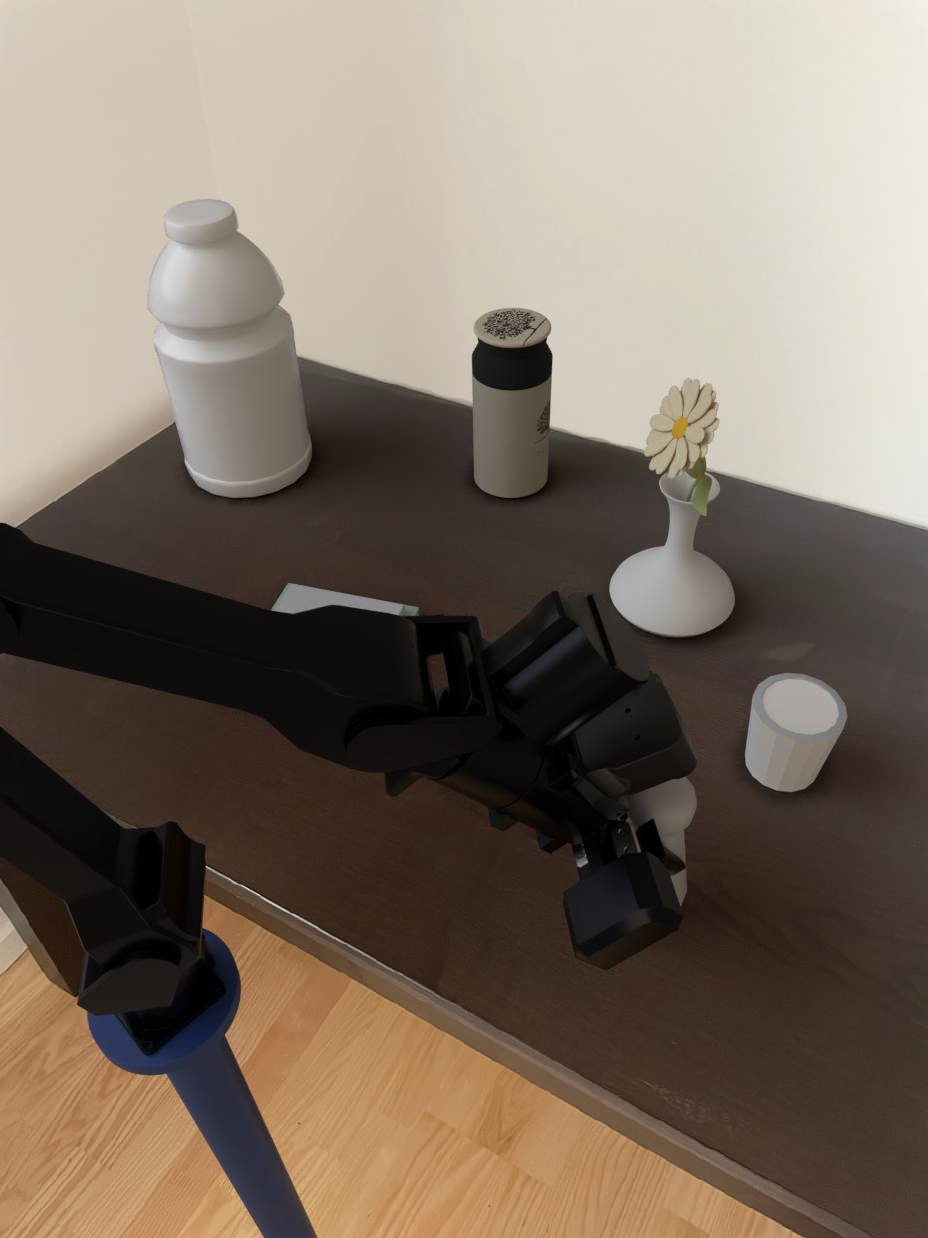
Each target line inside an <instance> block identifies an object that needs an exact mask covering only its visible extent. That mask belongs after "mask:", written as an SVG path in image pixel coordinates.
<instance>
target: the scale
mask: <svg viewBox="0 0 928 1238" xmlns="http://www.w3.org/2000/svg"><path fill="white" fill-rule="evenodd" d="M327 605H341V606H347V607H353V608H360V609H366V610H373V611H379V612H385V613H391V614H395V615H399V616H421V615H420V607H419V606H414V605H409V604H403V603H399V602H393V601H387V600H381V599H377V598H372V597H366V596H360V595H355V594H349V593H344V592H339V591H334V590H329V589H323V588H318V587H313V586H307V585H303V584H298V583H291V582H288V583H287V584H286V585H285V587H284V589H283V591H282V592H281V593H280V595H279V597H278V598H277V600H276V601H275V603H274V605H273V606H272V608H271V609H270V610H272V611H278V612H285V613H291V614H293V613H298V612H302V611H306V610H310V609H314V608H318V607H323V606H327Z"/></svg>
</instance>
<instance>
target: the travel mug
mask: <svg viewBox="0 0 928 1238" xmlns="http://www.w3.org/2000/svg"><path fill="white" fill-rule="evenodd" d="M551 332H552V324H551V321H550V320H549V319H548V318H547V317H546V316H545V315H544V314H542V313H540V312H539V311H535V310H532V309H528V308H522V307H504V308H498V309H494V310H490V311H488V312H485V313H484V314H482V315H480V316H479V317H478V318H477V319H476V320H475V322H474V324H473V333H474V334H475V336H476V337H477V344H476V346H474V347H475V348H474V349H473V351H472V354H471V387H472V390H471V391H472V394H471V395H472V396H471V397H472V430H473V431H472V439H473V440H472V441H473V442H472V443H473V480H474V482H475V484H476V485H477V486H478V488H479V489H480V490H481V491H483V492H485V493H487V494H489V495H491V496H494V497H499V498H506V499H514V498H515V499H518V498H522V497H523V498H524V497H527V496H530V495H533V494H535V493H537V492H538V491H540V490H541V489H542V488H543V487H544V486H545V485H546V483H547V481H548V471H549V450H550V427H551V407H552V406H551V402H552V383H553V382H552V379H553V359H554V357H553V356H554V355H553V351H552V350H551V348H550V346H549V344H548V342H547V341H548V338H549V336H550V334H551Z"/></svg>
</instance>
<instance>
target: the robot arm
mask: <svg viewBox="0 0 928 1238" xmlns="http://www.w3.org/2000/svg"><path fill="white" fill-rule="evenodd" d="M2 654H5V655H8V656H13V657H17V658H22V659H26V660H30V661H34V662H37V663H42V664H46V665H51V666H55V667H59V668H64V669H67V670H71V671H76V672H80V673H83V674H89V675H93V676H96V677H101V678H106V679H110V680H113V681H117V682H121V683H126V684H130V685H135V686H139V687H143V688H147V689H152V690H155V691H160V692H164V693H169V694H173V695H176V696H180V697H185V698H190V699H192V700H197V701H202V702H206V703H210V704H214V705H219V706H223V707H227V708H231V709H234V710H239V711H242V712H246V713H249V714H251V715H254V716H256V717H259V718H262V719H263V720H264V721H266V722H267V723H268V724H269V725H270V726H272V727H273V728H275V730H276V731H278V733H280V734H281V735H282V736H283V737H284V738H285V739H287V740H288V741H289V742H290V743H291V744H292V745H293V746H295V747H296V749H298V750H299V751H301V752H304V753H307V754H309V755H312V756H315V757H318V758H321V759H324V760H326V761H328V762H332V763H334V764H337V765H339V766H342V767H345V768H347V769H350V770H354V771H357V772H360V773H361V772H362V773H370V774H383V777H384V785H385V793H386V795H387V796H388V797H392V798H394V797H398V796H399V795H400V794H402V793H403V792H404V791H406V790H407V789H408V788H409V787H411V786H412V785H413V784H415V783H416V782H417V781H419V780H420V779H424V778H425V779H427V780H430V781H431V782H434V783H435V784H438V785H440V786H442V787H444V788H446V789H449V790H450V791H453V792H455V793H457V794H459V795H461V796H463V797H465V798H467V799H469V800H471V801H474V802H475V803H477V804H480V805H482V806H484V807H486V808H487V812H488V817H489V823H490V827H492V828H494V829H495V830H498V831H500V832H502V833H504V832H505V831H507V830H509V829H510V828H511V827H513V826H514V825H516V824H517V823H519V824H521V825H523V826H526V827H528V828H529V829H530V828H531V829H533V830H534V831H535V834H536V838H537V839H536V840H537V844H538V847H539V850H541V851H544V852H546V853H548V854H550V855H551V854H553V853H555V852H556V851H558V850H559V849H561V848H562V847H564V846H565V845H567V844H569V845H571V848H572V852H573V857H574V861H575V864H576V869H577V870H576V871H577V874H578V877H579V881H578V882H576V883H575V884H573V885H571V886H570V887H568V888H567V889H565V890H564V891H563V897H562V907H563V912H564V916H565V920H566V924H567V928H568V932H569V936H570V941H571V945H572V949H573V954H574V957H575V959H577V960H580V961H581V962H584V963H585V964H588V965H591V966H593V967H595V968H598V969H601V970H604V971H608V970H611V969H612V968H614V967H615V966H617V965H619V964H621V963H622V962H624V961H626V960H628V959H630V958H632V957H634V956H635V955H636V954H638V953H640V952H642V951H644V950H645V949H647V948H649V947H651V946H652V945H655V944H656V943H658V942H659V941H661V940H663V939H664V938H667V937H668V936H671V934H673V933H675V932H677V931H679V929H680V926H681V924H682V921H683V919H684V916H685V915H684V913H683V910H682V905H681V906H680V903H679V900H678V897H677V894H676V891H675V888H674V885H673V882H672V879H671V876H673V875H676V874H677V873H679V872H681V871H682V870H684V869H685V868H686V869H687V865H686V866H685V863H684V862H683V861H682V860H681V859H680V858H679V857H678V856H677V855H675V854H674V853H673V852H671V851H670V850H668V849H667V848H665V847H664V846H663V844H662V841H661V838H660V835H659V832H658V829H657V826H656V823H655V820H654V819H651V820H649V821H648V822H646V823H645V824H643V825H642V826H640V827H638V828H637V829H636V828H634V827H633V826H632V824H630V823H629V822H627V821H626V820H627V818H628V815H627V813H626V812H628V811H630V807H629V803H628V800H627V797H626V796H625V794H626V795H633V794H636V793H639V792H642V791H644V790H647V789H649V788H652V787H655V786H657V785H660V784H662V783H665V782H667V781H670V780H673V779H681V778H683V777H686V778H687V777H688V776H690V775H691V774H692V773H693V772H694V771H695V769H696V767H697V764H698V759H697V755H696V753H695V750H694V748H693V745H692V742H691V739H690V738H689V735H688V733H687V730H686V728H685V727H686V726H684V722H683V720H682V717H681V715H680V713H679V711H678V709H677V708H676V706H675V703H674V702H673V700H672V698H671V695H670V694H669V692H668V689H667V688H666V686H665V685H664V682H663V680H662V677H661V675H660V674H658V673H653V671H652V670H651V667H650V663H649V658H648V656H647V653H646V652H645V649H644V648H643V645H642V643H641V642H640V640H639V638H638V637H637V636H636V634H635V632H634V631H633V630H632V628H631V627H630V625H629V624H628V622H626V619H625V618H623V616H622V615H621V614H620V612H619V611H618V610H617V609H615V608H614V607H613V606H612V605H611V604H610V603H609V602H608V601H606V600H605V599H604V598H603V597H602V596H600V595H599V594H597V593H596V592H594V591H592V592H590V593H589V592H586V591H584V590H575V591H573V592H571V593H570V594H569V595H568V596H566V595H565V594H564V593H562V592H560V591H559V590H552V591H550V592H549V593H547V595H545V596H544V597H543V598H541V599H540V600H539V601H538V602H537V603H536V604H534V606H533V607H532V608H531V610H529V612H528V614H526V615H525V616H524V617H523V618H522V619H521V620H519V621H518V622H517V623H516V624H515V625H514V626H512V627H511V628H509V630H507V631H506V632H505V633H503V635H501V636H500V637H499V638H497V639H496V640H495V641H494V642H491V641H490V640H488V639H486V638H485V637H484V633H483V629H482V624H481V620H480V618H479V616H477V615H445V613H440V614H432V615H420V616H399V615H395V614H391V613H385V612H379V611H373V610H366V609H360V608H353V607H347V606H341V605H327V606H323V607H318V608H314V609H310V610H306V611H302V612H298V613H293V614H291V613H285V612H278V611H272V610H271V609H266V608H263V607H259V606H256V605H253V604H249V603H246V602H242V601H239V600H235V599H232V598H229V597H225V596H221V595H218V594H215V593H211V592H207V591H205V590H202V589H201V590H200V589H197V588H194V587H190V586H187V585H183V584H180V583H177V582H173V581H170V580H167V579H162V578H159V577H155V576H152V575H148V574H144V573H141V572H138V571H134V570H131V569H127V568H124V567H120V566H117V565H113V564H111V563H107V562H103V561H100V560H97V559H93V558H89V557H86V556H83V555H80V554H76V553H73V552H70V551H69V552H68V551H65V550H62V549H58V548H56V547H51V546H47V545H45V544H41V543H37V542H34V540H33V539H32V538H31V537H30V536H29V535H27V534H26V533H25V532H24V531H23V530H22V529H19V528H17V527H15V526H13V525H10V524H9V523H6V522H0V655H2ZM438 654H439V655H440V654H442V656H443V662H444V667H445V673H446V677H447V685H444V686H441V687H440V688H438V690H436V691H435V687H434V681H433V675H432V668H431V661H430V657H431V656H436V655H438ZM206 847H207V845H206V844H204V843H201V842H200V841H199V842H198V841H196V840H194V839H193V838H191V837H189V836H188V835H187V834H186V833H185V832H184V831H183V829H182V828H181V826H180V825H179V824H178V823H177V822H176V821H172V820H170V821H167V822H165V823H162V824H160V825H159V826H151V827H150V826H149V827H131V828H126V827H124V826H122V825H120V824H119V823H118V822H117V821H116V820H114V819H113V818H112V817H111V816H110V815H108V814H107V813H106V812H105V811H103V810H102V809H101V808H100V807H99V806H98V805H96V804H95V803H94V802H93V801H92V800H90V799H89V798H87V796H86V795H84V794H83V793H82V792H80V791H79V790H78V789H77V788H75V787H74V786H73V785H72V784H71V783H70V782H69V781H67V780H66V779H65V778H63V776H61V775H60V774H59V773H57V772H56V771H55V770H54V769H53V768H52V767H51V766H49V765H48V764H47V763H45V761H43V760H42V759H40V758H39V757H38V756H37V755H36V754H35V753H33V752H32V751H31V750H29V748H27V747H26V746H25V745H24V744H22V743H21V742H20V740H18V739H16V738H15V737H14V736H13V735H12V734H10V732H8V731H7V730H6V729H5V728H3V727H2V726H1V725H0V858H2V859H3V860H4V861H6V862H7V863H9V864H11V865H12V866H14V867H15V868H16V869H18V870H19V871H21V872H22V873H24V874H25V875H26V876H28V877H29V878H30V879H32V880H33V881H35V882H36V883H38V884H39V885H40V886H42V887H44V888H45V889H46V890H48V891H49V892H51V893H52V894H54V895H55V896H56V897H58V898H59V899H61V900H62V902H64V904H65V906H66V908H67V912H68V914H69V917H70V919H71V921H72V924H73V926H74V929H75V932H76V934H77V936H78V940H79V941H80V944H81V947H82V949H83V950H84V956H83V961H82V962H83V963H82V969H81V976H80V982H79V989H78V995H77V1001H76V1005H77V1006H78V1007H80V1008H81V1009H83V1010H85V1011H86V1012H87V1011H88V1012H90V1013H91V1014H93V1015H95V1016H103V1015H110V1014H114V1015H115V1017H116V1018H117V1019H118V1021H119V1022H120V1023H121V1025H122V1026H123V1028H124V1029H125V1030H126V1032H127V1033H128V1034H129V1036H130V1037H131V1038H132V1040H133V1041H134V1043H135V1044H136V1045H137V1047H138V1048H139V1049H140V1051H141V1052H142V1053H143V1054H144V1055H146V1056H149V1055H152V1054H153V1053H155V1052H156V1051H157V1050H158V1049H159V1048H161V1047H162V1046H163V1045H164V1044H165V1043H167V1042H168V1041H169V1040H170V1039H172V1038H173V1037H174V1036H175V1035H176V1034H178V1033H179V1032H180V1031H181V1030H182V1029H184V1028H185V1027H186V1026H187V1025H188V1024H190V1023H191V1022H192V1021H193V1020H195V1019H196V1018H197V1017H198V1016H199V1015H201V1014H202V1013H203V1012H204V1011H205V1010H207V1009H208V1008H209V1007H210V1006H211V1005H213V1004H214V1003H215V1002H216V1001H218V1000H219V999H220V998H221V997H222V996H223V995H224V994H225V992H226V987H225V985H224V983H223V982H222V981H221V980H220V978H219V977H218V976H217V975H216V974H215V972H214V971H213V970H212V968H214V967H215V964H216V961H215V958H214V956H213V954H212V951H211V949H210V947H209V944H208V942H207V939H206V937H205V935H204V934H203V933H202V928H203V925H204V924H203V923H204V908H205V907H204V906H205V893H206V892H205V890H206V889H205V888H206V874H207V873H206V872H207V861H206V851H207V850H206V849H207V848H206ZM217 988H221V990H220V991H219V992H215V990H216V989H217ZM149 1044H151V1045H152V1046H151V1048H150V1049H148V1050H146V1049H145V1048H146V1046H147V1045H149Z"/></svg>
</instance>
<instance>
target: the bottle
mask: <svg viewBox="0 0 928 1238" xmlns="http://www.w3.org/2000/svg"><path fill="white" fill-rule="evenodd" d="M163 228H164V233H165V235H166V237H167V238H168V239H169V241H168V242H167V243H166V244H165V245H164V247H163V248H162V249H161V251H160V253H159V254H158V256H157V258H156V260H155V262H154V264H153V267H152V270H151V272H150V277H149V281H148V290H147V297H146V299H147V300H146V303H147V304H146V306H147V310H148V311H149V312H150V314H151V315H152V316H153V317H154V318H155V320H156V321H159V323H158V325H157V326H156V328H154V330H153V346H154V351H155V353H156V356H157V359H158V363H159V366H160V370H161V373H162V377H163V381H164V384H165V388H166V393H167V395H168V400H169V404H170V407H171V411H172V414H173V418H174V423H175V425H176V430H177V433H178V437H179V441H180V444H181V448H182V451H183V455H184V465H185V467H186V469H187V471H188V472H187V473H188V474H189V476H190V477H191V478H192V480H193V481H194V482H195V484H196V485H197V486H198V487H199V488H201V489H202V490H204V491H207V492H208V493H210V494H212V495H216V496H220V497H226V498H230V499H231V498H232V499H238V498H239V499H240V498H241V499H242V498H256V497H260V496H265V495H268V494H272V493H277V492H278V491H280V490H282V489H284V488H285V487H289V486H290V485H293V484H294V483H295V482H297V480H299V479H300V478H301V477H302V476H303V475H304V474H305V473H306V472H307V470H308V468H309V465H310V463H311V461H312V458H313V445H312V440H311V434H310V432H309V429H308V421H307V414H306V408H305V401H304V394H303V388H302V382H301V375H300V368H299V361H298V355H297V348H296V340H295V330H294V326H293V325H294V323H293V320H292V316H291V314H290V313H289V312H288V311H287V310H286V309H285V308H284V307H283V306H282V305H280V302H281V301H282V299H284V296H285V295H286V293H285V292H286V291H285V288H284V283H283V279H282V277H281V276H280V275H279V272H278V271H277V269H276V267H275V265H274V264H273V262H272V261H271V259H270V258H269V257H268V256H267V255H266V253H265V252H264V251H262V249H261V248H259V246H257V244H255V243H254V242H253V241H251V240H250V239H249V238H248V237H247V236H246V235H244V234H243V233H242V232H240V231H238V230H239V228H240V225H239V220H238V215H237V212H236V209H235V208H234V206H233V205H232V204H230V203H229V202H227V201H225V200H221V199H213V198H203V199H194V200H188V201H184V202H181V203H178V204H175V205H173V206H172V207H170V208H168V209H167V210H166V212H165V213H164V214H163Z"/></svg>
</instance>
